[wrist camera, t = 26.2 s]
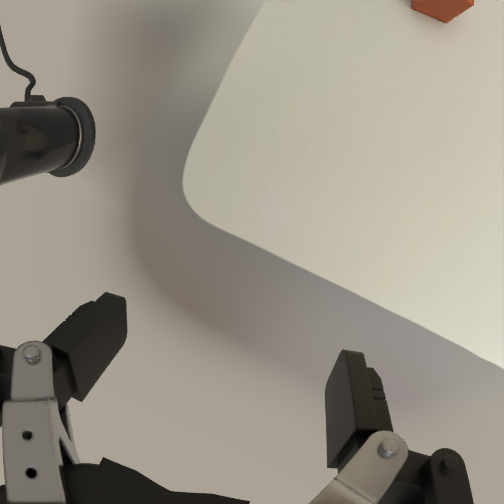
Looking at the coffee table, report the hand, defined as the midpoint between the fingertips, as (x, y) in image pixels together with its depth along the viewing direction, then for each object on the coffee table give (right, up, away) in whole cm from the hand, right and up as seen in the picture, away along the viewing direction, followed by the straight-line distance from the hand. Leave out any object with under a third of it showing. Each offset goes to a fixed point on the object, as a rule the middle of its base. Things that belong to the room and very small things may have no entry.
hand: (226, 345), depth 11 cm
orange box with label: (+23, +34, +14) cm, 43 cm away
